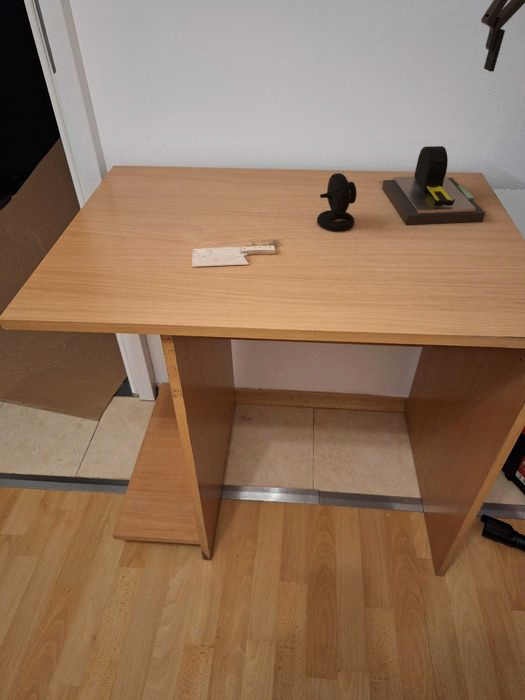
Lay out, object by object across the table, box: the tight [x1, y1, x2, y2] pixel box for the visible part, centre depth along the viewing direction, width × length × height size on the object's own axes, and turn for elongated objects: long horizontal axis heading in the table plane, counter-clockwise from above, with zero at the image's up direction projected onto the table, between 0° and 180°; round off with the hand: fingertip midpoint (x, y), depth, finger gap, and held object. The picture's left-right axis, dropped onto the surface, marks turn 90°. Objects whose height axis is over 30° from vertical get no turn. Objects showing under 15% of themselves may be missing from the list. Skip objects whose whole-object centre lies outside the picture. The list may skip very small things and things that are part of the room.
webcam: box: [316, 172, 357, 232], centre depth 95 cm, size 8×8×10 cm
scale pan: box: [392, 175, 476, 214], centre depth 103 cm, size 12×17×1 cm
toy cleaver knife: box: [191, 245, 276, 268], centre depth 87 cm, size 5×15×1 cm, turn 94°
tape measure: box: [413, 145, 455, 206], centre depth 100 cm, size 15×4×8 cm, turn 2°
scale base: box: [381, 177, 486, 226], centre depth 104 cm, size 16×18×3 cm
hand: (523, 69), depth 92 cm, fingers open, 13 cm apart
